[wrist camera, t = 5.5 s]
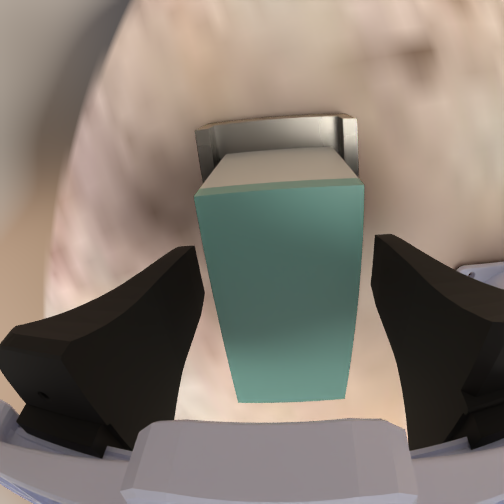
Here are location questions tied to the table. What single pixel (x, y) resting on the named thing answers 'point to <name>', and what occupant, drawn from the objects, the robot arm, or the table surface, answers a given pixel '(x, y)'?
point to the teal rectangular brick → (284, 269)
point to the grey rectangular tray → (277, 137)
